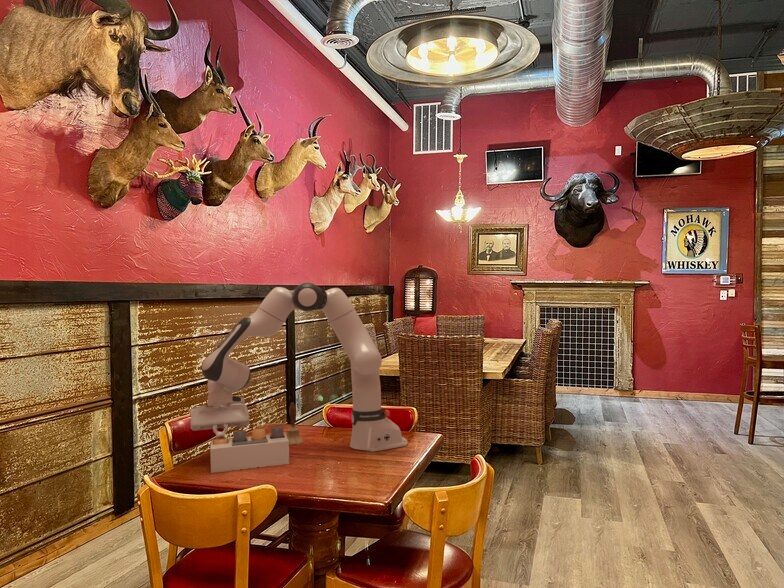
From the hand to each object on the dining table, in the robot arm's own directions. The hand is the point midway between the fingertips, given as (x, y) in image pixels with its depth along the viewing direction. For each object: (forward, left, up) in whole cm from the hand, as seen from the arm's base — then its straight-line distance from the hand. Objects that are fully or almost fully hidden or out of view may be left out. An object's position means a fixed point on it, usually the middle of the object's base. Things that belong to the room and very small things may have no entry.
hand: (220, 437), depth 191 cm
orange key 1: (0, 0, -7) cm, 7 cm away
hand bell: (-27, -20, -10) cm, 35 cm away
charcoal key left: (-20, 0, -5) cm, 20 cm away
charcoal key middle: (-7, 0, -5) cm, 8 cm away
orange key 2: (-13, 0, -5) cm, 14 cm away
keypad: (-10, +2, -10) cm, 14 cm away
